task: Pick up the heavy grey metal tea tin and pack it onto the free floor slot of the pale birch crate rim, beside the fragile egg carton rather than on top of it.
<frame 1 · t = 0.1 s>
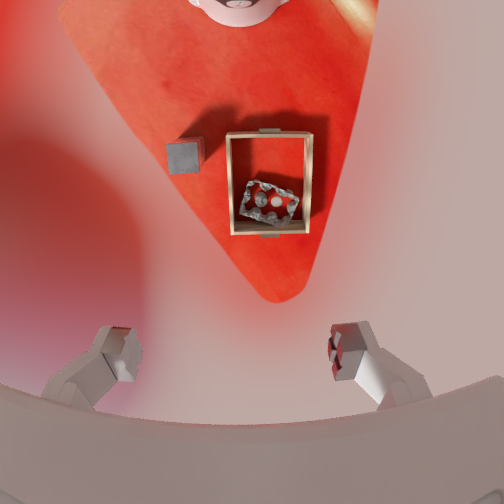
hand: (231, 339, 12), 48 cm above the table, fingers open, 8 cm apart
tin: (191, 149, 53), on the table
tote: (268, 178, 57), on the table
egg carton: (268, 199, 59), on the table
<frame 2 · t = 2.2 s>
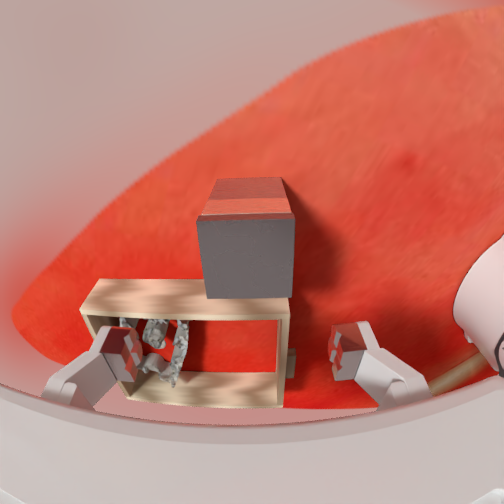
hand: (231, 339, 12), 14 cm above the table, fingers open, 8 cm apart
tin: (250, 207, 24), on the table
tote: (195, 334, 31), on the table
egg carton: (157, 329, 32), on the table
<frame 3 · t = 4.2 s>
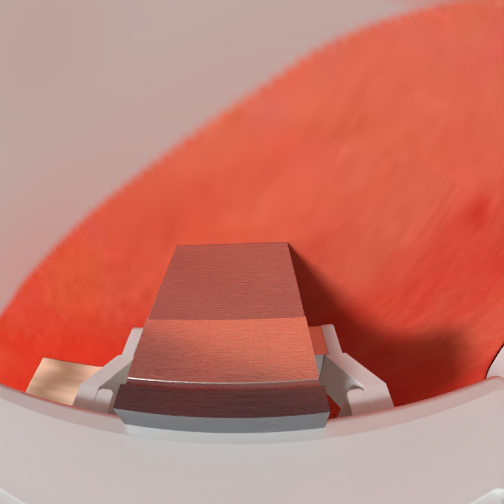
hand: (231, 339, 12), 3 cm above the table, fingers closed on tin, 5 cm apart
tin: (234, 289, 15), on the table, touching gripper
tote: (171, 422, 22), on the table
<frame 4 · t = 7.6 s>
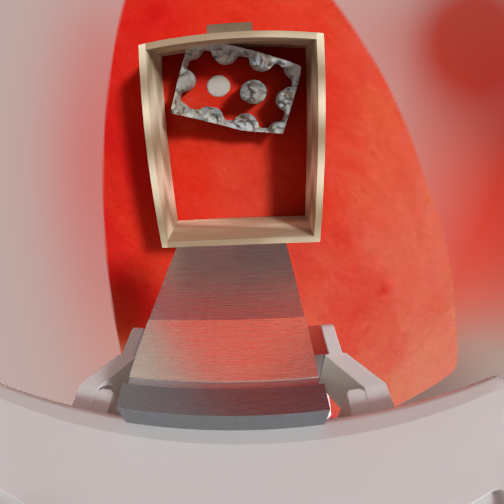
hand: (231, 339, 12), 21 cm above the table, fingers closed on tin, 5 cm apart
tin: (234, 289, 15), point 18 cm above the table, touching gripper
tote: (236, 134, 27), on the table
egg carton: (236, 87, 25), on the table
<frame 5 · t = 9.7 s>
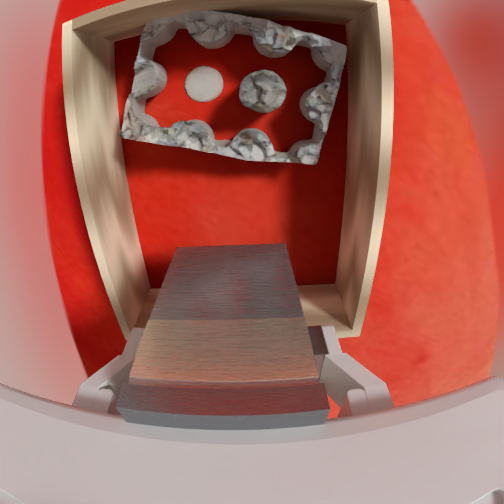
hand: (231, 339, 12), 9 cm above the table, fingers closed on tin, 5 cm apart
tin: (233, 289, 15), point 6 cm above the table, touching gripper
tote: (233, 163, 17), on the table
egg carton: (233, 85, 15), on the table
when the fingers open (6 cm above the table, at t = 11.3 s): tin drops 2 cm, on the table.
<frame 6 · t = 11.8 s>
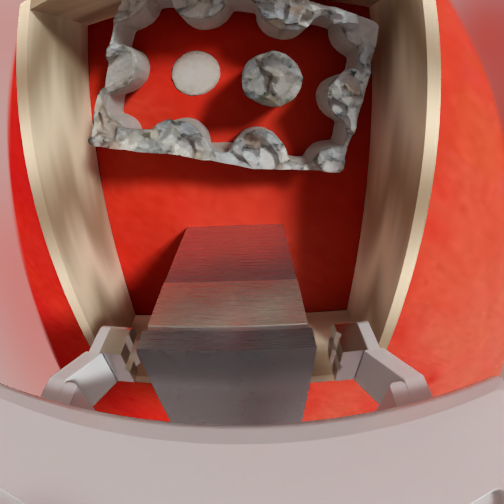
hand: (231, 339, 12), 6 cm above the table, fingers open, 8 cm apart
tin: (236, 266, 17), on the table
tote: (230, 172, 14), on the table
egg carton: (233, 73, 12), on the table
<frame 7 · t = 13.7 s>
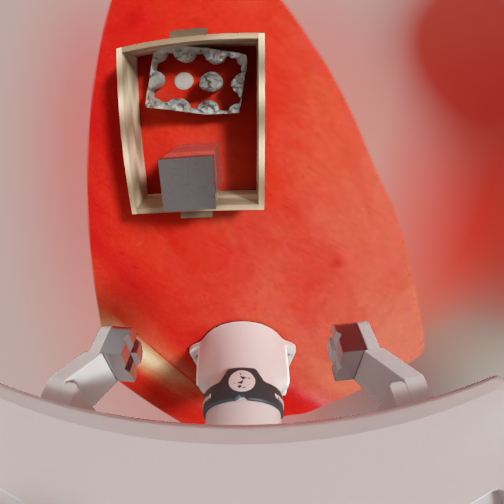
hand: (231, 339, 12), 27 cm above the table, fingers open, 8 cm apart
tin: (199, 163, 34), on the table
tote: (196, 120, 31), on the table
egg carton: (198, 80, 29), on the table
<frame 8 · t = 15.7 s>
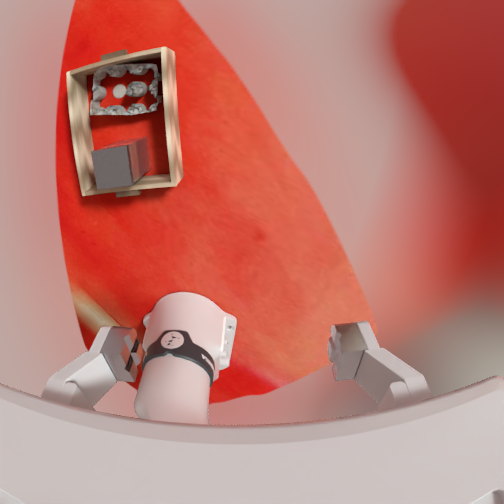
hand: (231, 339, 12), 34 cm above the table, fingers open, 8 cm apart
tin: (134, 154, 40), on the table
tote: (129, 120, 38), on the table
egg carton: (130, 89, 36), on the table
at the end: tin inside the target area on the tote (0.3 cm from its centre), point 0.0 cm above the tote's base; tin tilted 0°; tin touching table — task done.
